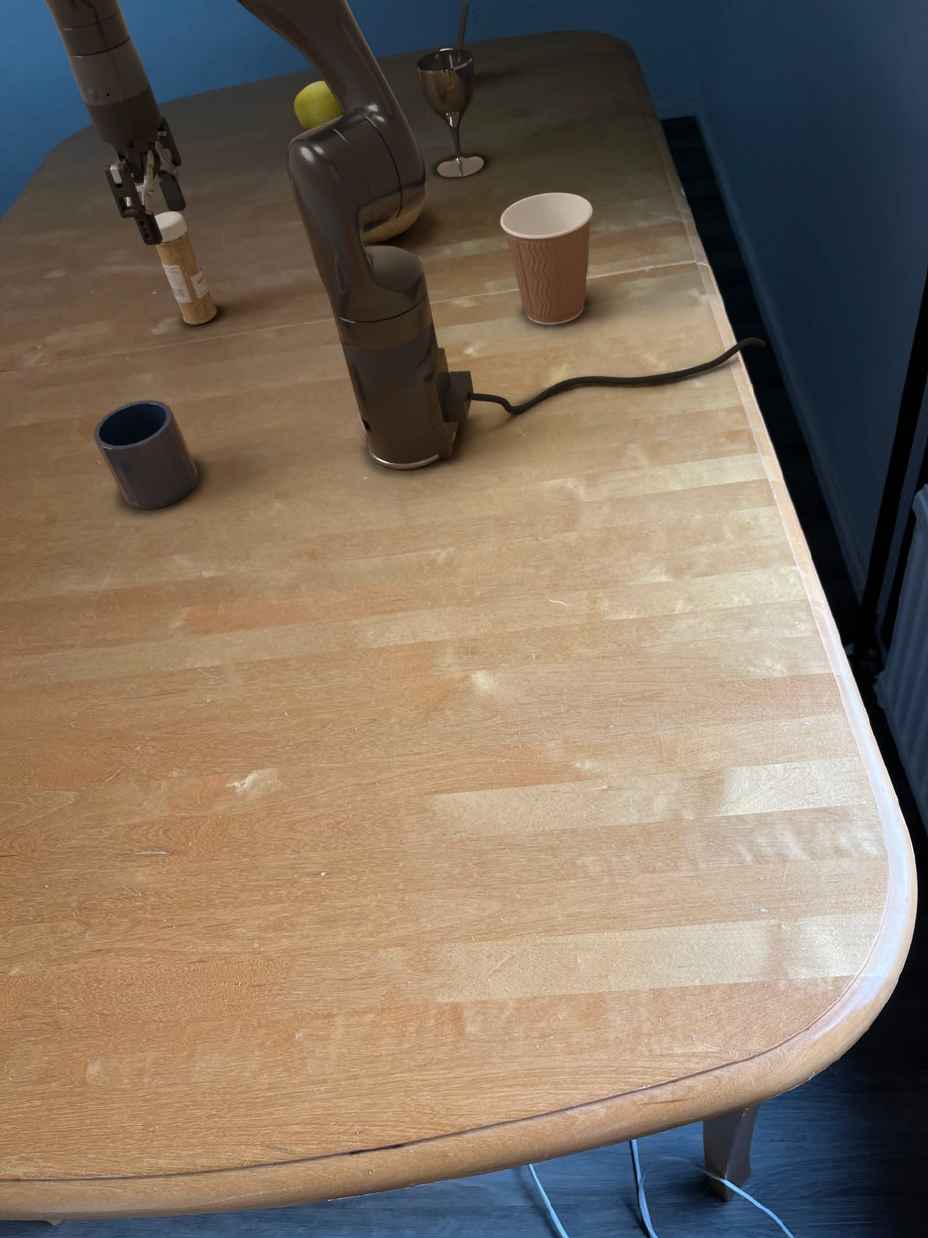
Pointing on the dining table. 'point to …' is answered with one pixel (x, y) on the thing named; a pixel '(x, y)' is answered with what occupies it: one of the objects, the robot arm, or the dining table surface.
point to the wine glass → (450, 100)
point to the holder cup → (146, 454)
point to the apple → (316, 105)
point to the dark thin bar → (462, 26)
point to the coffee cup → (550, 254)
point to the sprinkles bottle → (184, 269)
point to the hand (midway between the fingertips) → (166, 225)
